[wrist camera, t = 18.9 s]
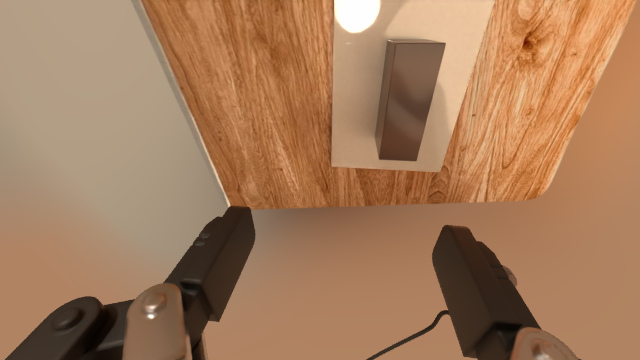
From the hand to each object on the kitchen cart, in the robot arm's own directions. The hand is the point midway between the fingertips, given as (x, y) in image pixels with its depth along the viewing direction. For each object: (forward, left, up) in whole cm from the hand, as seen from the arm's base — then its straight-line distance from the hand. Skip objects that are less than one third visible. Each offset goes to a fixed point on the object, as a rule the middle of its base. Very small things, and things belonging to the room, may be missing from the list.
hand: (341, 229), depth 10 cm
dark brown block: (0, -6, -22) cm, 23 cm away
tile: (0, -6, -23) cm, 24 cm away
